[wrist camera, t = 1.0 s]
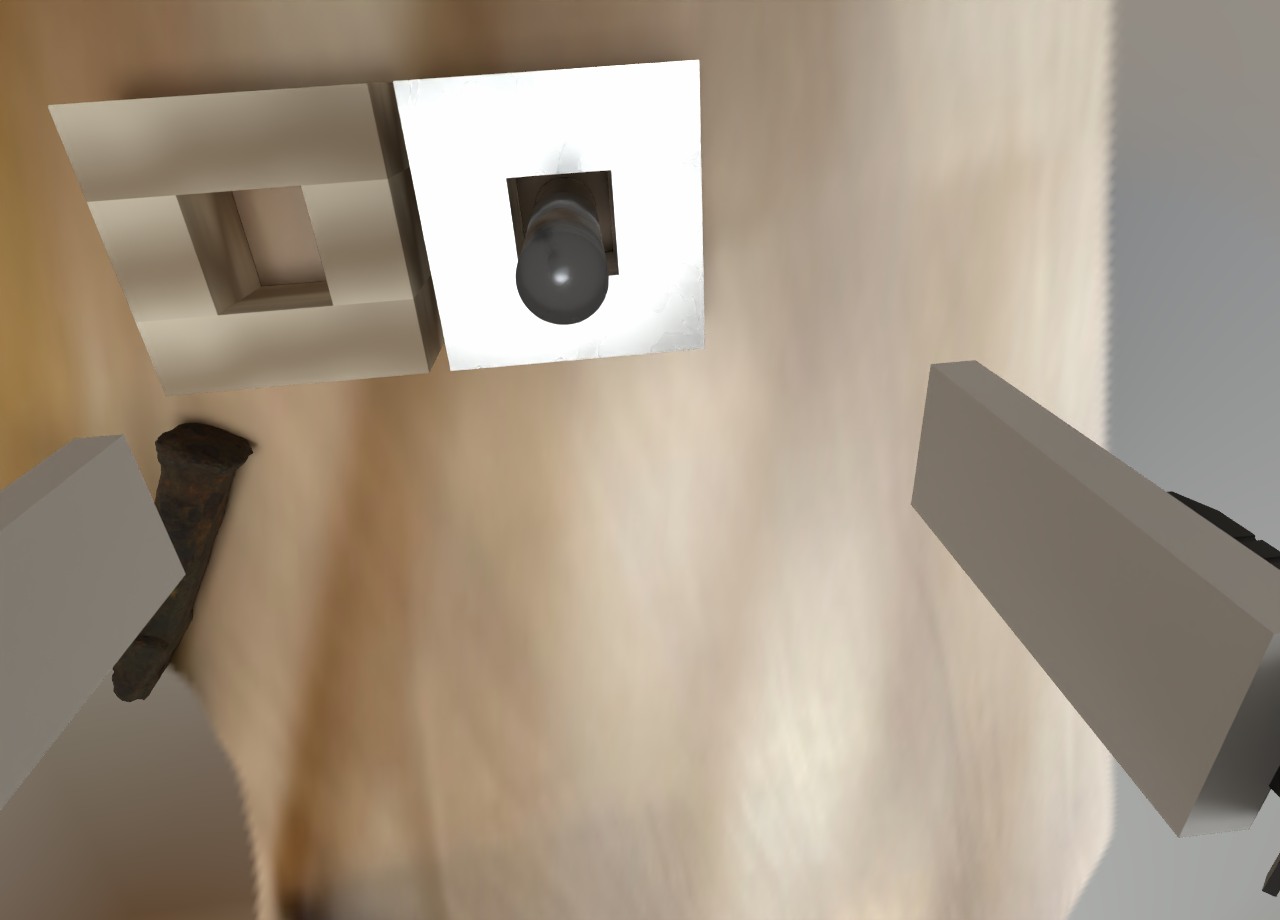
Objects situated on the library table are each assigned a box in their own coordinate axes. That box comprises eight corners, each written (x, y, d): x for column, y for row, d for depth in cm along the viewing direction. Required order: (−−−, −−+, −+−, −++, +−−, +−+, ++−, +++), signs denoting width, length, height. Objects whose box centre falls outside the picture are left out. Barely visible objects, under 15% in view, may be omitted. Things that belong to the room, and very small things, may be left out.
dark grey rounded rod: (530, 179, 35) (508, 235, 22) (592, 175, 35) (605, 227, 22) (538, 243, 36) (522, 328, 24) (598, 238, 36) (612, 320, 24)
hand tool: (186, 408, 39) (139, 446, 35) (262, 438, 40) (225, 479, 36) (113, 648, 46) (68, 704, 42) (179, 668, 47) (141, 724, 43)
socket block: (417, 80, 32) (392, 81, 28) (681, 62, 33) (699, 59, 28) (464, 337, 38) (450, 371, 33) (689, 317, 38) (704, 348, 34)
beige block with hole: (120, 101, 32) (47, 105, 27) (394, 82, 32) (366, 83, 28) (213, 358, 37) (165, 396, 33) (445, 338, 38) (429, 373, 33)
